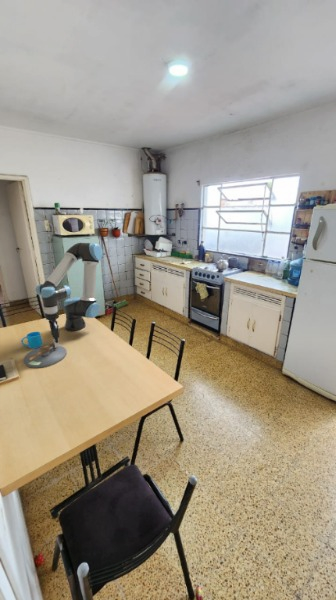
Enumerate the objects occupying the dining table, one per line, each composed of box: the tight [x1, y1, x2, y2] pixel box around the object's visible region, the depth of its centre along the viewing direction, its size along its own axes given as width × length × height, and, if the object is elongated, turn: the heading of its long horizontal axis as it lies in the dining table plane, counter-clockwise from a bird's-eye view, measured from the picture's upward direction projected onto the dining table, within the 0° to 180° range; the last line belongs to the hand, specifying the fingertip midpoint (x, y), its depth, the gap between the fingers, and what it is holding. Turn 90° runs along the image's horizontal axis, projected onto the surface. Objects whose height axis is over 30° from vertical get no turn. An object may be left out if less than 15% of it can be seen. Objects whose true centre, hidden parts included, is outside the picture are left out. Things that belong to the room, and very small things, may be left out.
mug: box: [20, 331, 43, 349], centre depth 166 cm, size 12×8×8 cm
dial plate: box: [22, 345, 68, 369], centre depth 155 cm, size 24×24×4 cm
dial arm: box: [29, 340, 57, 360], centre depth 154 cm, size 22×6×4 cm, turn 161°
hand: (57, 346), depth 161 cm, fingers closed
